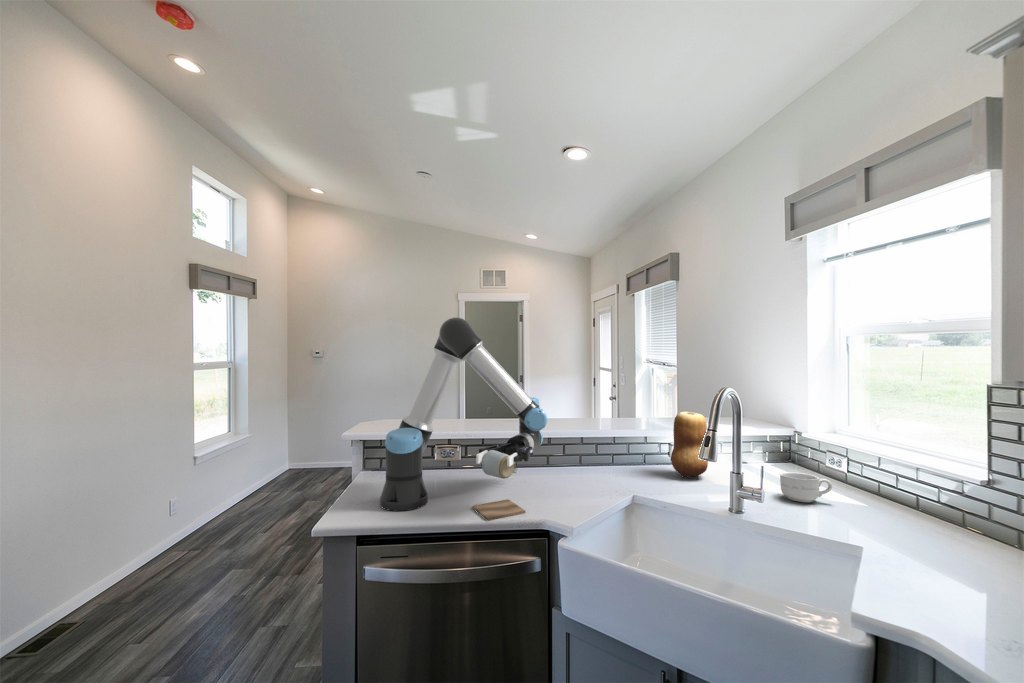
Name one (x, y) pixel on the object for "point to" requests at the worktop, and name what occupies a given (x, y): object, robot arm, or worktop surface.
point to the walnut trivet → (498, 509)
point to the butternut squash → (688, 444)
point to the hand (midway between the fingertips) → (492, 460)
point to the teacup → (802, 486)
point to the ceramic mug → (497, 465)
